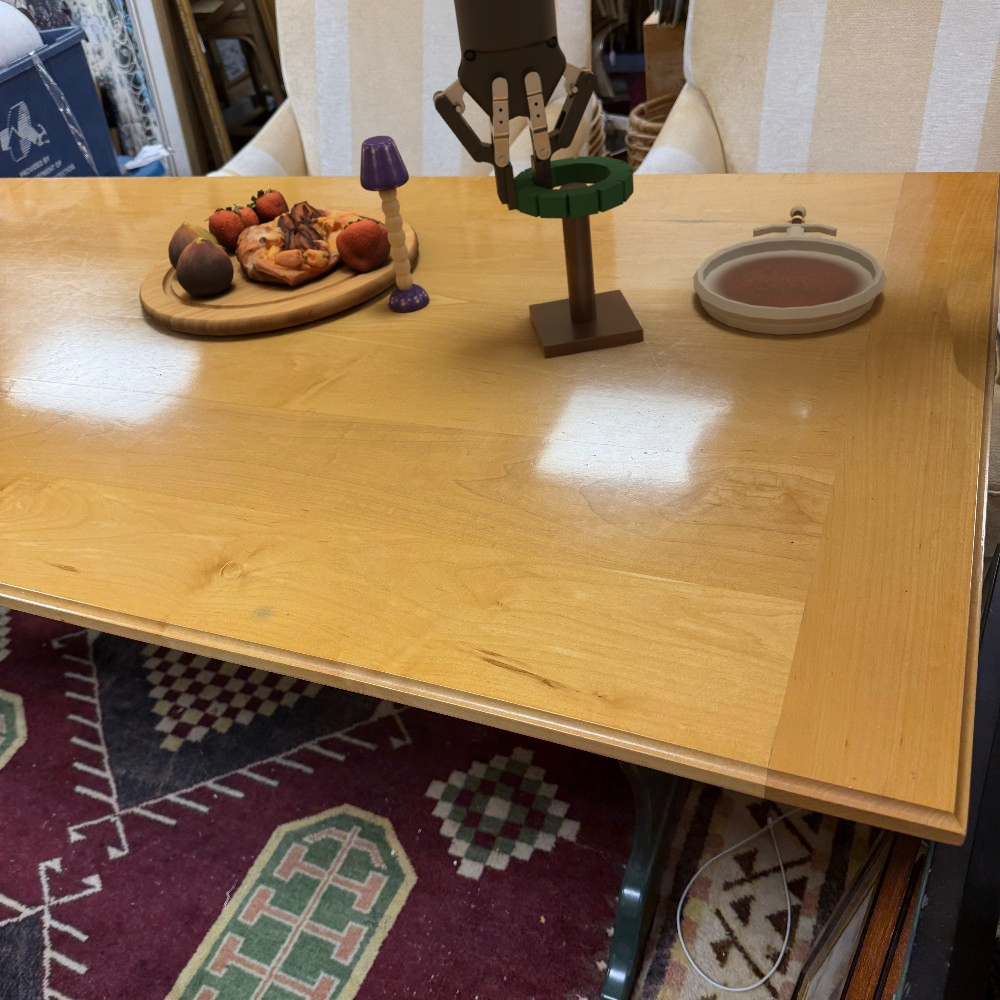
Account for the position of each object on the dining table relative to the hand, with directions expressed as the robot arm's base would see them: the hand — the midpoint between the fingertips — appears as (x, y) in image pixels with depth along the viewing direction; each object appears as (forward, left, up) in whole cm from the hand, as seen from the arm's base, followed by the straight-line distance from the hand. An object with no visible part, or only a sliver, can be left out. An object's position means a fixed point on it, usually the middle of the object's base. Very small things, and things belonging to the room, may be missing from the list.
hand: (526, 203), depth 77 cm
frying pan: (-25, -4, -13) cm, 29 cm away
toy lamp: (+12, -12, -13) cm, 21 cm away
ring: (-4, 0, 0) cm, 4 cm away
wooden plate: (+26, -26, -13) cm, 39 cm away
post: (-4, 0, -12) cm, 13 cm away
